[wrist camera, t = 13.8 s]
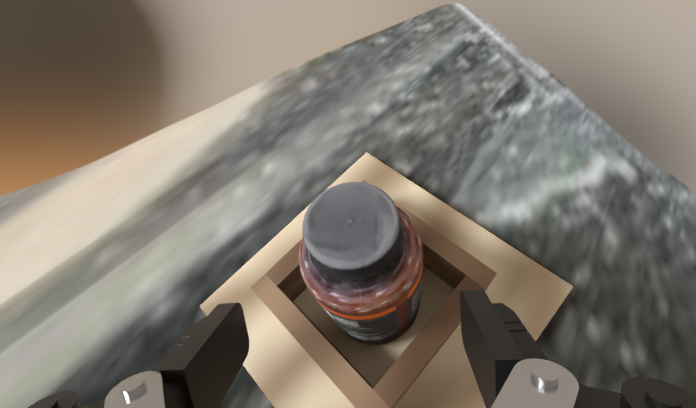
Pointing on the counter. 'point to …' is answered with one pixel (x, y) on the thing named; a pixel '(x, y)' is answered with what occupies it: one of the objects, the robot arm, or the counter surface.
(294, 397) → the collar board
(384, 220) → the supplement bottle
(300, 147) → the counter surface
